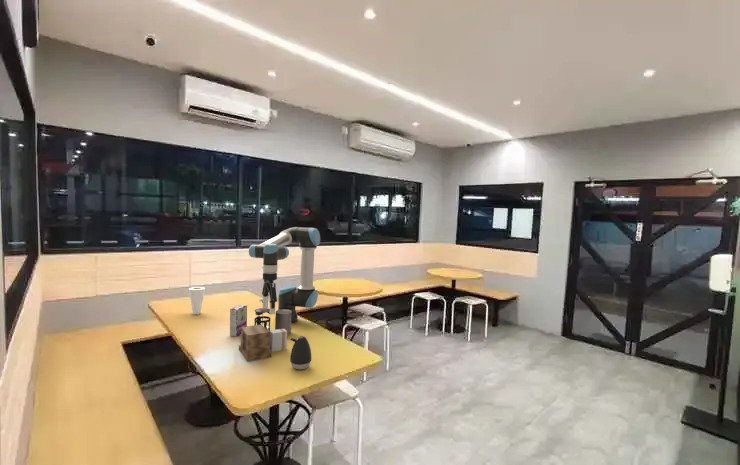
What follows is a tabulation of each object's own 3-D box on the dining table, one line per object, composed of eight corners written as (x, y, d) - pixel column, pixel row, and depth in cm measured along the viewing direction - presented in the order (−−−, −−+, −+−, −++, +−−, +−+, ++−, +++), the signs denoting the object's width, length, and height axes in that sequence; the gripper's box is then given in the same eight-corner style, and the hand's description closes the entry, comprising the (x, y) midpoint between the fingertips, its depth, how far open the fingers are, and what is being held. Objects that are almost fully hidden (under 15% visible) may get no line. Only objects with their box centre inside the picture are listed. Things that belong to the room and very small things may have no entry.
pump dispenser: (290, 362, 175) (292, 332, 175) (312, 363, 176) (313, 333, 175) (287, 372, 165) (289, 340, 164) (310, 372, 166) (311, 340, 165)
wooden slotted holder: (263, 345, 197) (263, 323, 196) (273, 356, 182) (274, 332, 181) (238, 349, 189) (239, 326, 189) (247, 361, 174) (248, 336, 174)
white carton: (283, 346, 196) (283, 328, 196) (286, 349, 192) (287, 331, 192) (269, 348, 192) (269, 330, 191) (272, 351, 188) (272, 333, 187)
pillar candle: (271, 332, 217) (272, 308, 216) (285, 329, 224) (286, 306, 223) (280, 337, 211) (281, 312, 210) (294, 333, 218) (295, 309, 217)
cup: (208, 313, 251) (208, 288, 250) (193, 316, 242) (194, 290, 241) (199, 310, 257) (199, 286, 256) (185, 313, 248) (185, 288, 247)
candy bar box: (239, 330, 219) (240, 304, 218) (247, 331, 218) (247, 304, 217) (229, 336, 208) (229, 308, 207) (236, 337, 207) (237, 309, 206)
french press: (273, 339, 206) (274, 300, 204) (257, 342, 200) (258, 302, 198) (265, 333, 215) (266, 296, 213) (249, 336, 209) (251, 298, 207)
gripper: (257, 269, 200) (255, 306, 201) (269, 276, 179) (268, 317, 180) (270, 268, 204) (269, 305, 205) (284, 275, 183) (282, 316, 184)
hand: (268, 311), depth 193 cm, fingers open, 13 cm apart
